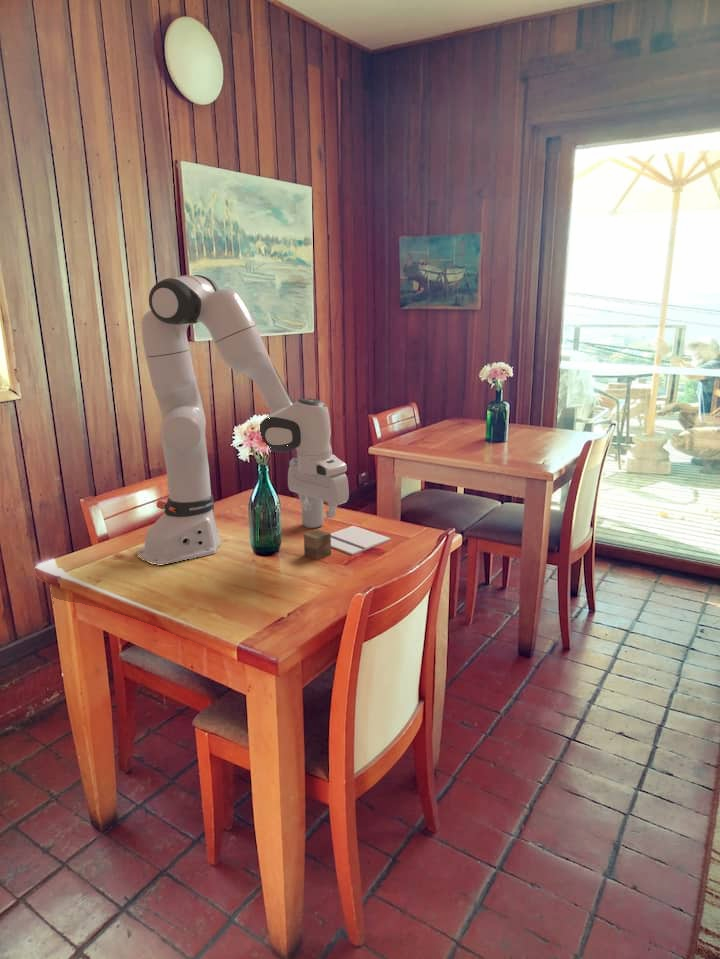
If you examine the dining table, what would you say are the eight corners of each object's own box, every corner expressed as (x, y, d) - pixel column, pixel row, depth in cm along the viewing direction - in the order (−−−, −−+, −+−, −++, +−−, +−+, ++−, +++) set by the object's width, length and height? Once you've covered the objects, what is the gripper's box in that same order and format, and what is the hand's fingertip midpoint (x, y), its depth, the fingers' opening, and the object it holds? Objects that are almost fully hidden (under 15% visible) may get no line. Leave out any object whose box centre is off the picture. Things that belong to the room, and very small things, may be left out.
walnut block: (317, 560, 171) (316, 538, 170) (304, 555, 175) (303, 533, 173) (331, 554, 175) (330, 533, 173) (318, 549, 178) (317, 529, 176)
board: (352, 555, 174) (352, 552, 174) (315, 540, 184) (315, 538, 184) (390, 539, 184) (390, 537, 184) (353, 527, 194) (353, 525, 194)
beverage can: (299, 523, 198) (297, 485, 195) (319, 520, 200) (318, 482, 197) (306, 530, 192) (305, 491, 189) (327, 526, 195) (326, 488, 192)
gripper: (280, 458, 172) (284, 508, 176) (332, 471, 158) (335, 525, 162) (298, 453, 177) (302, 502, 181) (351, 465, 163) (354, 518, 166)
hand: (318, 513), depth 171 cm, fingers open, 8 cm apart
